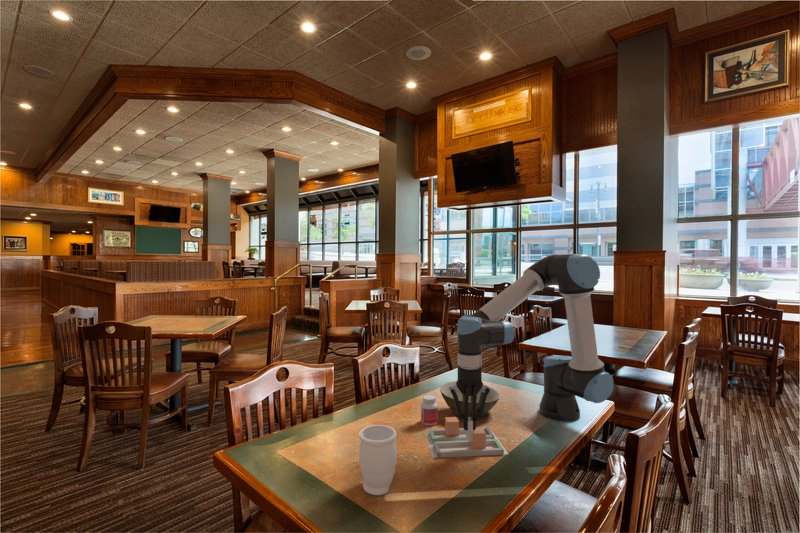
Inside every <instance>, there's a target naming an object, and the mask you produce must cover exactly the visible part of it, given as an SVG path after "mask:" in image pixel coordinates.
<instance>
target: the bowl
mask: <svg viewBox="0 0 800 533" xmlns="http://www.w3.org/2000/svg"><path fill="white" fill-rule="evenodd" d="M456 382H457V380H456V381H450V382H446V383H443V384H442V385H441V386H440V388H439V391H440V394H441V396H442V399H443V400H444V402H445V403H446V405H447V406H448V408H449V409H450V410H451V411H452V412H453V413H454V414H455V415H457V412H456V407H455V403H454V399H453V395H452V393H451V392H450V390H449V388H450V387H454V386H455V385H456ZM483 385H484V386H487V387H488V388H489V389H490V392H489V393H488V395H487V397H486V401H485V406H484V410H483V414H482V417H483V416H484V415H486V414H487V413H489V412H490V411H491V410H492V409H493V408H494V407H495V405H496V404H497V403H498V402H499V400H500V399H501V398H500V396H501V395H500V392H498V391H497V390H496V389H495V388H494V387H491V386H489V385H486V384H483ZM457 391H458V393H457V396H458V400H459V404H460V408H461V412H462V414H463V396H462V393H461V392H460V390H459V389H458V390H457ZM481 392H482V391H481V389H480V391H479V392H478V394H477V399H476V411H477V407H478V403H479V399H480V395H481ZM468 418H471V397H470V396H469V400H468Z"/></svg>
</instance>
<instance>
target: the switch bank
mask: <svg viewBox="0 0 800 533" xmlns="http://www.w3.org/2000/svg"><path fill="white" fill-rule="evenodd" d="M477 428H483V430H484V431H485V433H486V449H471V447H470V442H468V440H467V439H466V430H464V428H463V427H461V428H460V427H459V436H455V437H446V436H445V428H436V429H435V428H434V429H432V428H431V429H428V433H425V434H424V435H425V438H426V441H427V445H428V447H429V449H430V450H429V451H430V454H431V457H432V459H435V458H458V457H478V456H479V457H481V456H499V455H500V456H501V455H509V453H508V451H507V450H506V449H505V447H504V446H503V444H502V443H501V441H500V440H499V439H498V437H497V436H496V434H495V433H494V431H493V430H491V429H490V428H489V426H485V427H483V426H482V427H481V426H480V427H477Z"/></svg>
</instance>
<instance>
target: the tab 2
mask: <svg viewBox="0 0 800 533" xmlns="http://www.w3.org/2000/svg"><path fill="white" fill-rule="evenodd" d="M470 447H471V449H486V433H485V431H484V430H483V428H478V427H476V429H475V430H473V442H470Z"/></svg>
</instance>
